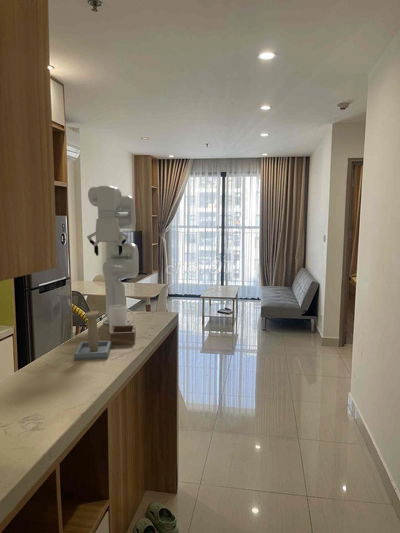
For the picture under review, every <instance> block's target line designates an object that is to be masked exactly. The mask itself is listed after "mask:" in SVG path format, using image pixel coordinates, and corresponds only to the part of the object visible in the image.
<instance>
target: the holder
mask: <svg viewBox="0 0 400 533" xmlns="http://www.w3.org/2000/svg"><path fill="white" fill-rule="evenodd" d="M136 332H137V329H136V325H135V324H134V325H133V324H131V325H127V326H112V329H111V332H110V333H109V341H111V346H123V345H124V346H125V345H135V344H136V337H137V334H136Z"/></svg>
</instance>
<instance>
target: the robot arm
mask: <svg viewBox="0 0 400 533" xmlns="http://www.w3.org/2000/svg"><path fill="white" fill-rule="evenodd" d="M87 197H88V201H89V203H90V204H91V205H92V206H94V207H97V218H96V220H95V232H93V233H91V234H89V235H87V237H86V238H87V240H88V241H89V243H90V244H91V245H93V249H94V250H93V251H94V254H95V256H96V257H97V256H99V246H98V245H99V243H107V244H106V245H107V246H106V257H107V260H106V261H104V262H103V264H102V272H103V277H104V278H103V279H104V287H105V309H106V311H105V312H106V318H104V320H103V324H105V325H109V306H112V305H126V287H125V285H124V283H123V281H121V279H135V278H136V277H138V275H139V273H140V272H139V271H140V270H139V268H140V267H139V262H140V261H139V259H140V257H139V249H138V248H139V247H138V245H137V244H135V243H133V242H127V240H128V238H129V235H128V234H126V233H125V232H122V231H121V230H123V229H124V230H126V229H127V230H128V229H130V230H131V229H133V228H136V223H137V220H136V219H137V218H136V206H135V205H136V204H135V201H134V199H133V197H132V196H131V195H122V191H121V190H120V189H119V188H118V187H117V186H112V185H99V186H92V187H90V188H89V189H88V191H87ZM93 237H95V241H94V240H93V239H92V238H93ZM129 322H130V318H129V317H128V316H127V323H129Z"/></svg>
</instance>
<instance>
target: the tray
mask: <svg viewBox="0 0 400 533" xmlns="http://www.w3.org/2000/svg"><path fill="white" fill-rule="evenodd" d="M111 350H112V345H111V341H110V340H98V350H97V351H90V348H89V342H88V341H81V342H79V345H78V347H77V348H76V350H75V352H74V354H73V355H74V361H92V360H108V358H109V355H110V352H111Z"/></svg>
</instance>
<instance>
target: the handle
mask: <svg viewBox="0 0 400 533" xmlns="http://www.w3.org/2000/svg"><path fill="white" fill-rule="evenodd" d="M99 317H100V312H99V311H97V310H90V311H86V312H85V313H84V318H85V319H86V320H87V342H89V348H90V351H97V350H98V341H99V328H98V321H97V320H98V319H97V318H99Z"/></svg>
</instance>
